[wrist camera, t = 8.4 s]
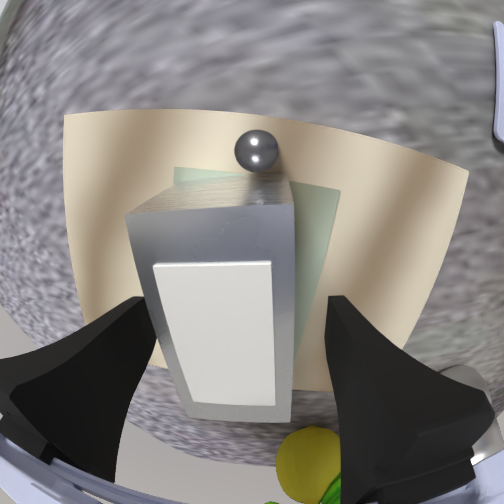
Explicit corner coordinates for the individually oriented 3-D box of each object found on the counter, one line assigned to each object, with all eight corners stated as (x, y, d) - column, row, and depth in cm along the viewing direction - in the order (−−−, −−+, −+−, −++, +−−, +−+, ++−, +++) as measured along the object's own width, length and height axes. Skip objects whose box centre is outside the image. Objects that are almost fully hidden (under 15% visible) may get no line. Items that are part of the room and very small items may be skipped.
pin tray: (458, 167, 11) (500, 182, 8) (372, 382, 17) (383, 420, 14) (76, 114, 11) (31, 117, 8) (97, 337, 18) (75, 369, 14)
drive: (286, 173, 11) (294, 204, 6) (289, 345, 15) (290, 424, 10) (181, 180, 12) (122, 215, 7) (209, 344, 15) (187, 419, 11)
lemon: (267, 440, 21) (260, 536, 12) (271, 408, 19) (262, 528, 10) (339, 439, 21) (347, 531, 12) (356, 406, 19) (373, 519, 9)
